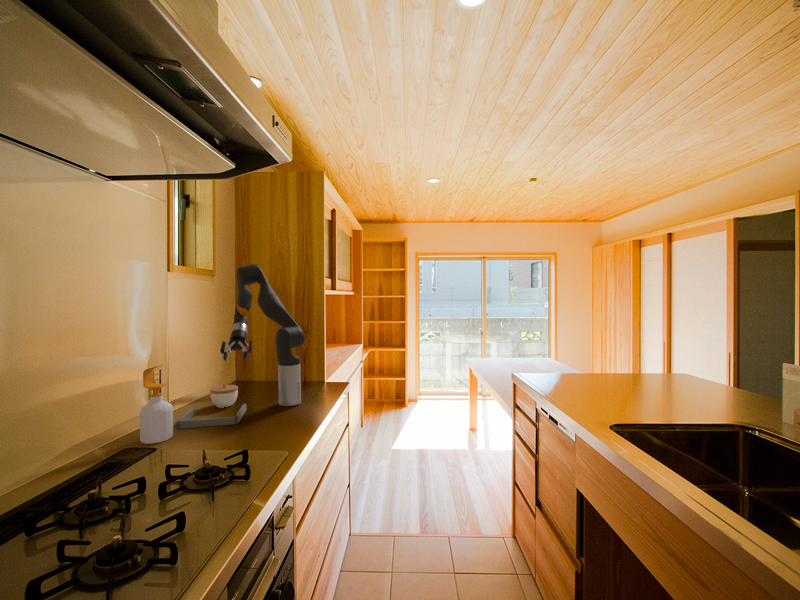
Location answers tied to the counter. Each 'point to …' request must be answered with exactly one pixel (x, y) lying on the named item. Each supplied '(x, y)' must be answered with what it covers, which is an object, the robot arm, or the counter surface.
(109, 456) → the counter surface
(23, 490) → the counter surface
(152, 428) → the soap bottle
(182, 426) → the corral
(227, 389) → the lidded jar
